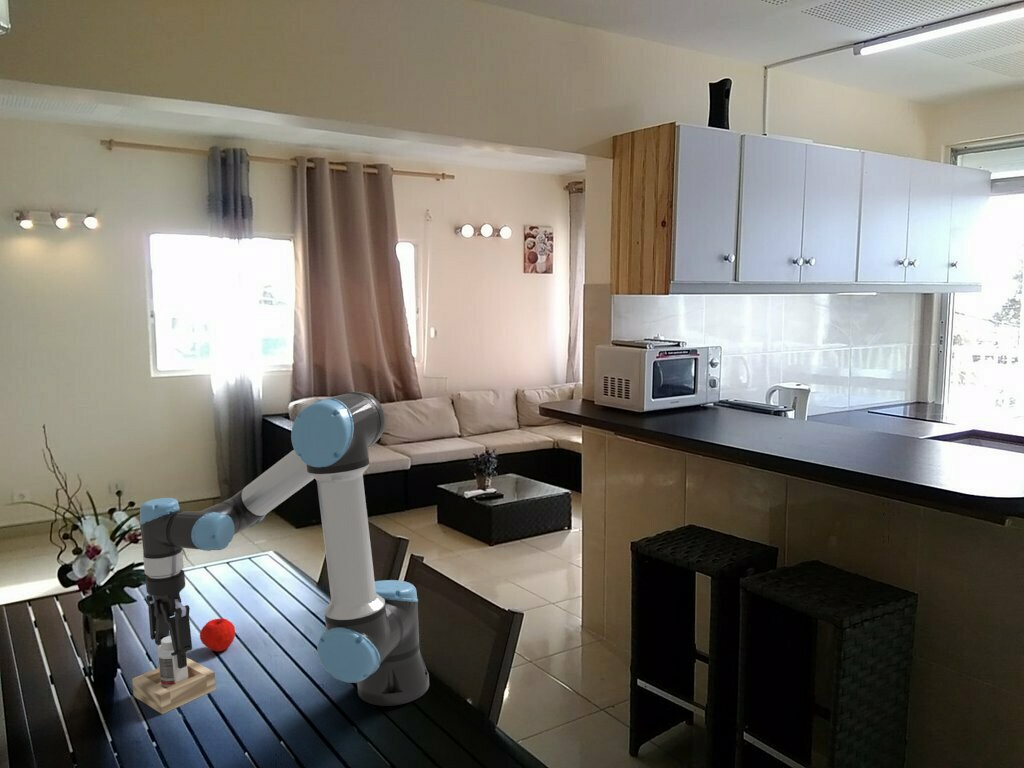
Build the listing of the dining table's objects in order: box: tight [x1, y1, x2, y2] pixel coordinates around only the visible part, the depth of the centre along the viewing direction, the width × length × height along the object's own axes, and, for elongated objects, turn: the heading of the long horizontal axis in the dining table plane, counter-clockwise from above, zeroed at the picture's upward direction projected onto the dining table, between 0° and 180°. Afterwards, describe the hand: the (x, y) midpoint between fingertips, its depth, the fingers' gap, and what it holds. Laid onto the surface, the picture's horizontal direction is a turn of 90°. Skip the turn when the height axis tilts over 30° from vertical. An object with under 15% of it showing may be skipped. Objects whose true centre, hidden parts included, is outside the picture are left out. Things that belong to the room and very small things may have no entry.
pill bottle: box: [157, 635, 175, 688], centre depth 167 cm, size 5×5×10 cm
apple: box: [199, 617, 236, 652], centre depth 187 cm, size 8×8×7 cm
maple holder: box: [131, 657, 217, 715], centre depth 167 cm, size 12×12×4 cm
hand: (174, 676), depth 167 cm, fingers closed on pill bottle, 5 cm apart
